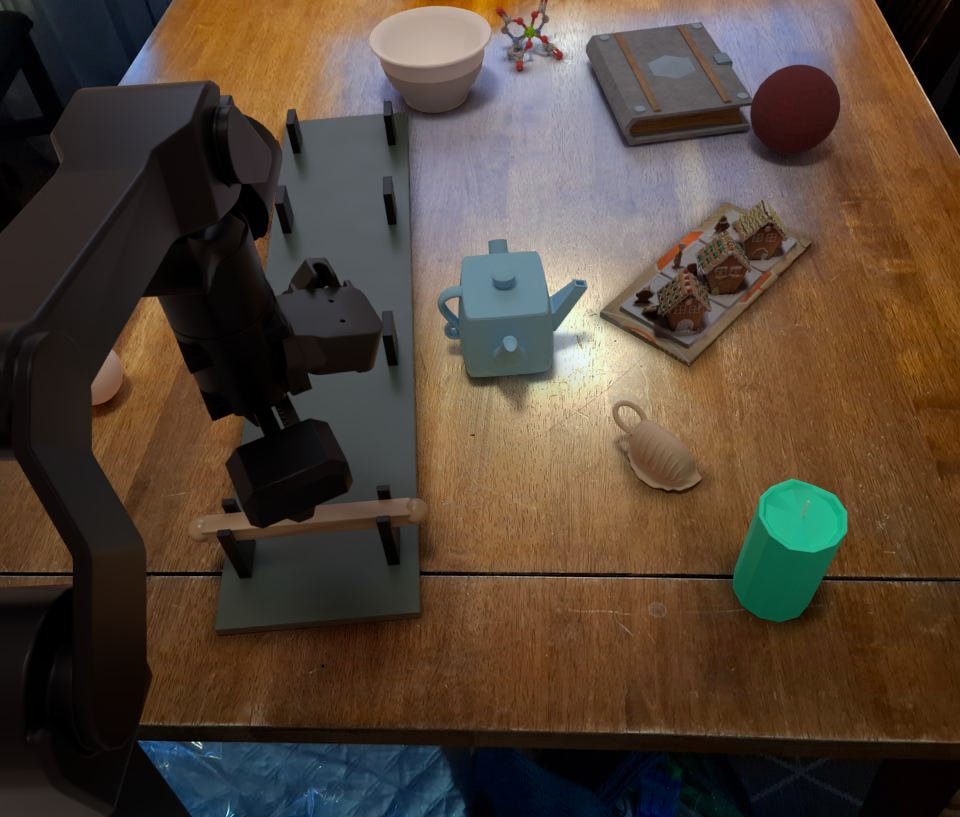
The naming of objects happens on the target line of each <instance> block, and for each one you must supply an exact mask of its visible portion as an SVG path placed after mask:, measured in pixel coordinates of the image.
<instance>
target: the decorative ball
mask: <svg viewBox="0 0 960 817" xmlns="http://www.w3.org/2000/svg"><path fill="white" fill-rule="evenodd" d="M752 99H753V101H752V104H751V106H750V113H749V117H750V123H751V128H752V130H753V133H754V135H755V137H756V138H757V139H758V140H759V142H760V143H761V144H762V145H763V146H764V147H766V148H767V149H769V150H771V151H773V152H775V153H779V154H784V155H797V154H802V153H805V152H808V151H810V150H812V149H815V148H816V147H817V146H819V145H820V144H822V143H823V142H824V141H825V140H826V139H827V138H828V137H829V136H830V135H831V133H832V132H833V130H834V129H835V127H836V125H837V122H838V121H839V117H840V111H841V97H840V92H839V90H838V87H837V84H836V83H835V82H834V80H833V78H832V77H831V76H830V75H828V74H827V73H826V72H825V71H824V70H822V69H820V68H819V67H816V66H812V65H809V64H791V65H788V66H785V67H782V68H779V69H778V70H777V69H776V71H774V72H772V73H771V74H770V75H768V76H767V77H766V78H765V79H764V80H763V82H761V84H760V85H759V86H758V88H757V90H756V92H755V93H754V95H753V97H752Z"/></svg>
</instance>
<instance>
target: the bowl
mask: <svg viewBox="0 0 960 817" xmlns="http://www.w3.org/2000/svg"><path fill="white" fill-rule="evenodd" d="M492 35H493V31H492V28H491V25H490V22H488V21H487V19H486V18H485V17H483V16H482V15H480V14H479V13H477V12H474V11H472V10H468V9H465V8H461V7H456V6H445V5H433V6H432V5H429V6H420V7H416V8H415V7H414V8H410V9H406V10H404V11H400V12H397V13H395V14H392V15H390V16H388V17H387V18H385V19H383V20H382V21H380V22H379V23H378V24H377V25H376V26H374V27H373V29H372V31H371V32H370V34H369V38H368V44H369V48H370V50H371V52H372V54H374V55H375V56H376V57H377V58H379V63H380V65H381V68H382V70H383V73H384V75H385V77H386V79H387V80H388V81H389V83H390V84H391V85H392V87H393V89H395V91H397V92H398V93H399V95H401V96H402V97H403V98H404V101H405V104H406V105H407V106H408V107H410V108H411V109H413V110H416V111H417V112H422V113H428V114H429V113H433V114H434V113H443V112H448V111H451V110H454V109H456V108H458V107H459V106H461V105H463V104H464V103H465V102H466V100H467V99H468V97H469V96H468V94H469V92H470V90H471V88H472V87H473V86H474V84H475V82H476V81H477V79H478V76H479V74H480V73H481V70H482V67H483V62H484V58H485V48H486V47H487V46H488V45H489V43H490V41H491V40H492Z"/></svg>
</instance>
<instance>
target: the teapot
mask: <svg viewBox="0 0 960 817" xmlns="http://www.w3.org/2000/svg"><path fill="white" fill-rule="evenodd" d="M487 242H488V243H487V244H488V253H487V254H477V255H469V256H468V255H467V256H465V257H463V258H462V261H461V266H460V277H459V285H452V286H449V287H447V288H445V289H444V290H443V291H441V292H440V294H439V295H438V298H437V308H438V311H439V312H440V314H441V315H442V317H443V318H444V319H445V321H447V323H446V324H445V325H444V327H443V332H444V335H445V337H446V338H447V339H450V340H454V341H458V340H459V344H460V349H461V353H462V359H463V362H464V366H465V369H466V371H467V373H468V376H470V377H472V378H488V377H501V376H502V377H503V376H516V375H525V374H536V373H543V372H548V371H549V370H550V368H551V366H552V363H553V358H554V332H556V331H557V330H558V329H559V328H560V327H561V325H562V324H563V322H564V321H565V319H566V318H567V316H568V315H569V314H570V312H571V311H572V310H573V309H574V307H575V306H576V305H577V304H578V302H579V301H580V300H581V298H582V296H583V295H584V294H585V293H586V292H587V290H588V283H587V280H586V279H579V278H577V279H576V278H573V279H572V280H571V281H570V282H569V283H568V284H566V285H565V286H563V287H562V288H561V289H559V290H557V291H556V292H555V293H554V294H552V295H550V294H549V293H550V292H549V287H548V284H547V279H546V275H545V274H546V273H545V271H544V266H543V261H542V258H541V256H540V254H539V252H538V251H535V250H533V251H531V250H530V251H511V252H510V251H509V248H508V241H507V239H505V238H497V239H490V240H488V241H487ZM456 298H458V308H457V309H458V310H457V313H458V315H455V314H454V312H453V311H452V310H451V309H450V308H449V307H448V306H447V302H448V301H449V300H451V299H456Z"/></svg>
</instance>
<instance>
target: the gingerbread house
mask: <svg viewBox="0 0 960 817" xmlns="http://www.w3.org/2000/svg"><path fill="white" fill-rule="evenodd" d="M812 245H813V241H811V240H809V239H808V238H806V237H803V236H801V235H799V234H797V233H795V232H793V231H791V230H789V229H787V228H785V225H783V221H782V220H781V219H780V217H779V216H778V215H777V211H774V209H773V207H771V205H770V204H769V202H768V201H767V200H766V199H765V198H762V199H761V200H760V201H758V203H757V204H755V206H754V205H753V206H752V207H751V208H750V209H749V210H745V209H743V208H742V207H739V206H737V205H735V204H732V203H730V202H727V201H725V202H724V203H723V204H722V205H720V206H719V207H718V208H717V209H715V211H713V212H712V213H711V214H710V215H709V216H708V217H707V218H706V219H705V220H704V221H702V222H701V223H699V225H697V227H695V228H693V230H692V231H690V232H689V233H688V234H687V235H686V236H685V237H684V238H682V239H681V240H680V241H679V242H678V243H676V244H675V245H674V246H673V247H672V248H671V249H670V250H669V251H667V252H666V253H665V254H664V255H663V256H662V257H660V258H659V259H658V260H657V261H656V262H655V263H654V264H652V265H651V266H650V267H648V269H647V270H646V271H644V272H643V273H642V274H641V275H639V276H638V277H637V279H635V280H634V281H633V282H631V283H630V285H628V286H627V287H626V288H625V289H623V290H622V291H621V292H620V293H619V294H618V295H617V296H615V297H614V298H613V300H611V301H610V302H609V303H608V304H607V305H605V306H604V307H603V308H602V309H601V310H600V311H599V317H600V318H602V319H604V320H606V321H608V322H609V323H610V324H613V325H614V326H616V327H618V328H620V329H621V330H623V331H625V332H627V333H628V334H631V335H632V336H634V337H636V338H637V339H639V340H641V341H643V342H645V343H647V344H648V345H650V346H652V347H654V348H655V349H657V350H659V351H661V352H663V353H665V354H666V355H668V356H670V357H671V358H674V359H675V360H677V361H679V362H681V363H682V364H684V365H686V366H688V367H690V366H691V365H692V364H694V362H696V360H698V358H700V356H701V355H702V354H703V353H704V352H705V351H707V349H708V348H709V347H711V346H712V344H714V342H715V341H717V340H718V338H720V337H721V336H722V335H723V334H724V333H725V332H726V331H727V330H728V329H729V328H730V327H731V326H732V325H733V324H734V323H735V322H736V321H737V320H738V319H739V318H740V317H741V316H742V315H743V314H744V312H746V311H747V310H748V309H749V308H750V307H751V306H752V305H753V304H754V303H755V302H757V300H758V299H759V298H760V297H761V296H762V295H763V294H764V293H766V291H767V290H769V288H770V287H771V286H772V285H774V283H775V282H776V281H778V280H779V278H780V277H781V276H783V275H784V273H786V272H787V271H788V270H789V269H790V268H791V267H792V266H793V265H794V264H795V263H796V261H798V260H799V259H800V258H801V257H802V256H803V255H804V254H805V253H806V252H807V251H808V250H810V248H811V247H812Z"/></svg>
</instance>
